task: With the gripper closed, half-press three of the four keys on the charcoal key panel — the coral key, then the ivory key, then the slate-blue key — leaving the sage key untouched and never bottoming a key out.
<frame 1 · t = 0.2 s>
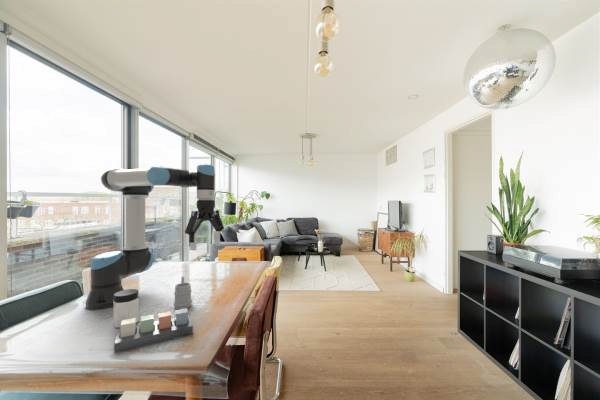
hand: (205, 247, 113), 28 cm above the table, fingers open, 13 cm apart
key sage: (147, 324, 90), point 5 cm above the table, slide at 0.0 cm
key ivory: (128, 327, 87), point 5 cm above the table, slide at 0.0 cm
mug: (182, 305, 118), on the table
key slate: (181, 317, 95), point 5 cm above the table, slide at 0.0 cm
key panel: (156, 335, 91), on the table
key coral: (164, 320, 92), point 5 cm above the table, slide at 0.0 cm
jar: (126, 323, 101), on the table
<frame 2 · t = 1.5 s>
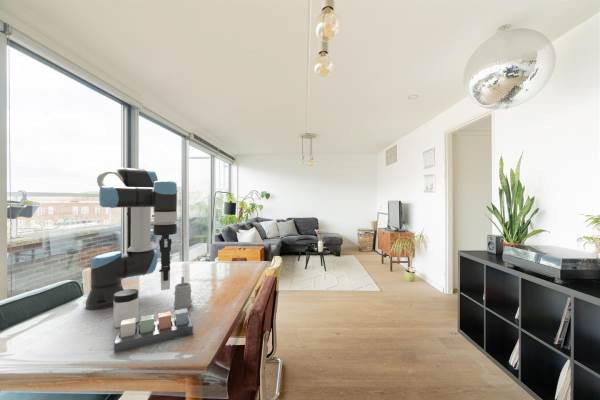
hand: (165, 285, 92), 17 cm above the table, fingers open, 9 cm apart
nothing on the table moved.
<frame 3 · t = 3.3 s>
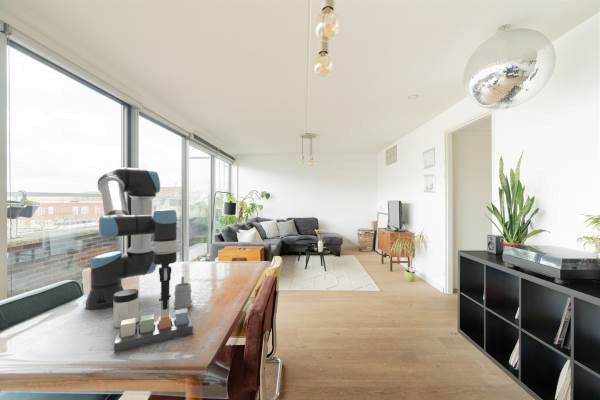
hand: (164, 317, 92), 6 cm above the table, fingers closed
key coral: (164, 323, 92), point 4 cm above the table, slide at 1.2 cm
everything else where it was.
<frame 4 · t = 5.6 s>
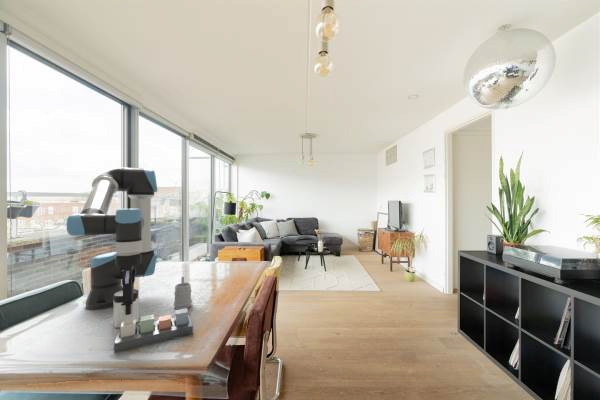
hand: (128, 322, 87), 7 cm above the table, fingers closed
key ivory: (128, 329, 87), point 4 cm above the table, slide at 0.6 cm, touching gripper
everything else where it was.
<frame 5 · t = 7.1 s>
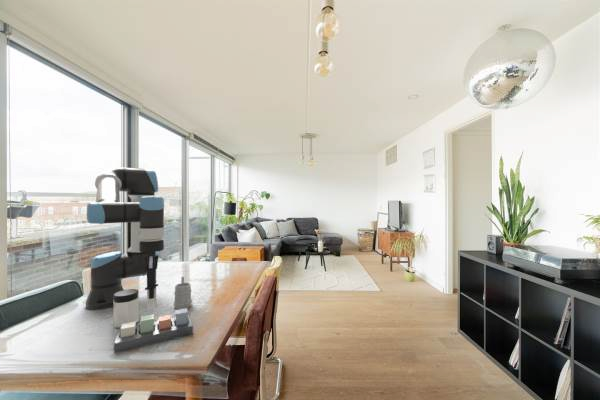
hand: (151, 306, 90), 11 cm above the table, fingers closed
key ivory: (128, 331, 87), point 3 cm above the table, slide at 1.3 cm
everything else where it was.
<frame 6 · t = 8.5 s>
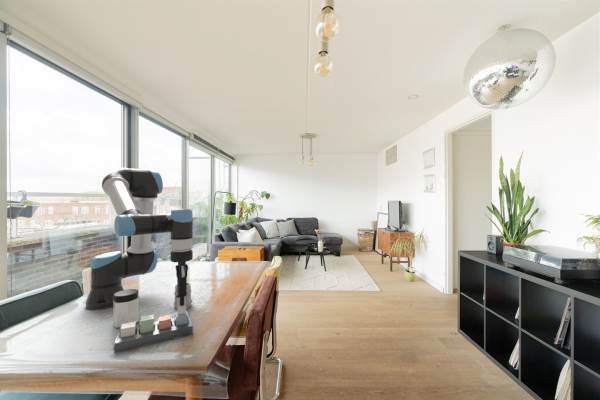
hand: (181, 313, 95), 6 cm above the table, fingers closed
key slate: (181, 319, 95), point 4 cm above the table, slide at 1.0 cm, touching gripper
everything else where it was.
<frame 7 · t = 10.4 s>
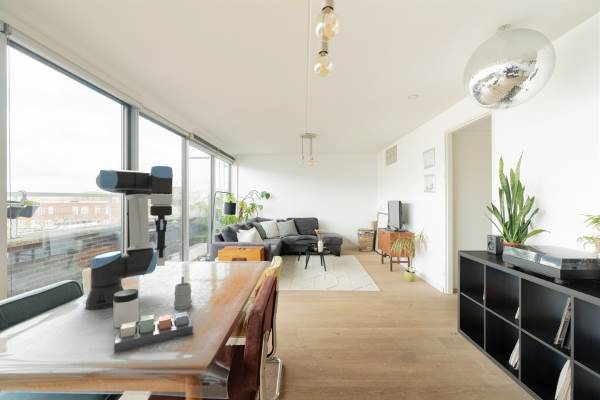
hand: (160, 265, 100), 23 cm above the table, fingers closed
key slate: (181, 320, 95), point 3 cm above the table, slide at 1.3 cm
everything else where it was.
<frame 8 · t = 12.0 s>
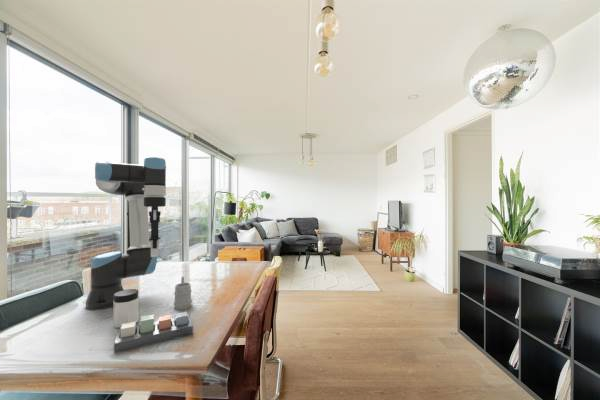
hand: (154, 256, 100), 26 cm above the table, fingers closed
nothing on the table moved.
at the end: key coral slide at 1.3 cm; key ivory slide at 1.3 cm; key slate slide at 1.3 cm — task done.
